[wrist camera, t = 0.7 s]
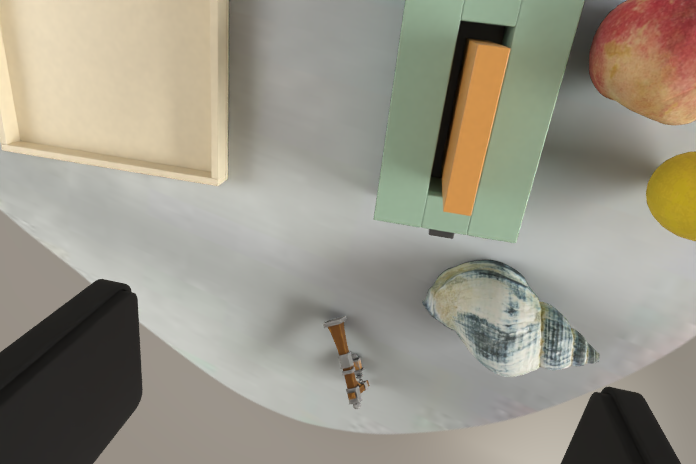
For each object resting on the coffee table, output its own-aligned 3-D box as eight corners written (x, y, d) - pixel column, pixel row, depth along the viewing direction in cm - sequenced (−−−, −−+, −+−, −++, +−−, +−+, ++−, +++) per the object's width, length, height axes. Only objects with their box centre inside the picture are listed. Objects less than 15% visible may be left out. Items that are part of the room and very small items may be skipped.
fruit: (552, 48, 33) (585, 55, 25) (661, -44, 30) (734, -65, 22) (619, 133, 34) (668, 163, 27) (729, 54, 31) (819, 63, 24)
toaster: (413, -27, 32) (410, -34, 28) (567, -9, 31) (589, -15, 27) (378, 208, 39) (371, 232, 35) (503, 228, 38) (512, 256, 34)
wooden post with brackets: (360, 396, 46) (345, 414, 42) (337, 315, 47) (321, 324, 43) (377, 393, 46) (365, 410, 41) (354, 311, 46) (339, 319, 42)
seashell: (471, 235, 41) (568, 326, 42) (412, 302, 40) (512, 390, 42) (504, 243, 34) (616, 349, 36) (434, 322, 34) (550, 425, 36)
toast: (466, 37, 33) (477, 43, 24) (489, 40, 33) (510, 48, 24) (440, 164, 37) (442, 212, 27) (462, 168, 36) (471, 216, 27)
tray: (-15, -53, 36) (-39, -57, 34) (229, -25, 34) (218, -27, 32) (20, 145, 42) (1, 150, 41) (228, 179, 40) (218, 186, 39)
